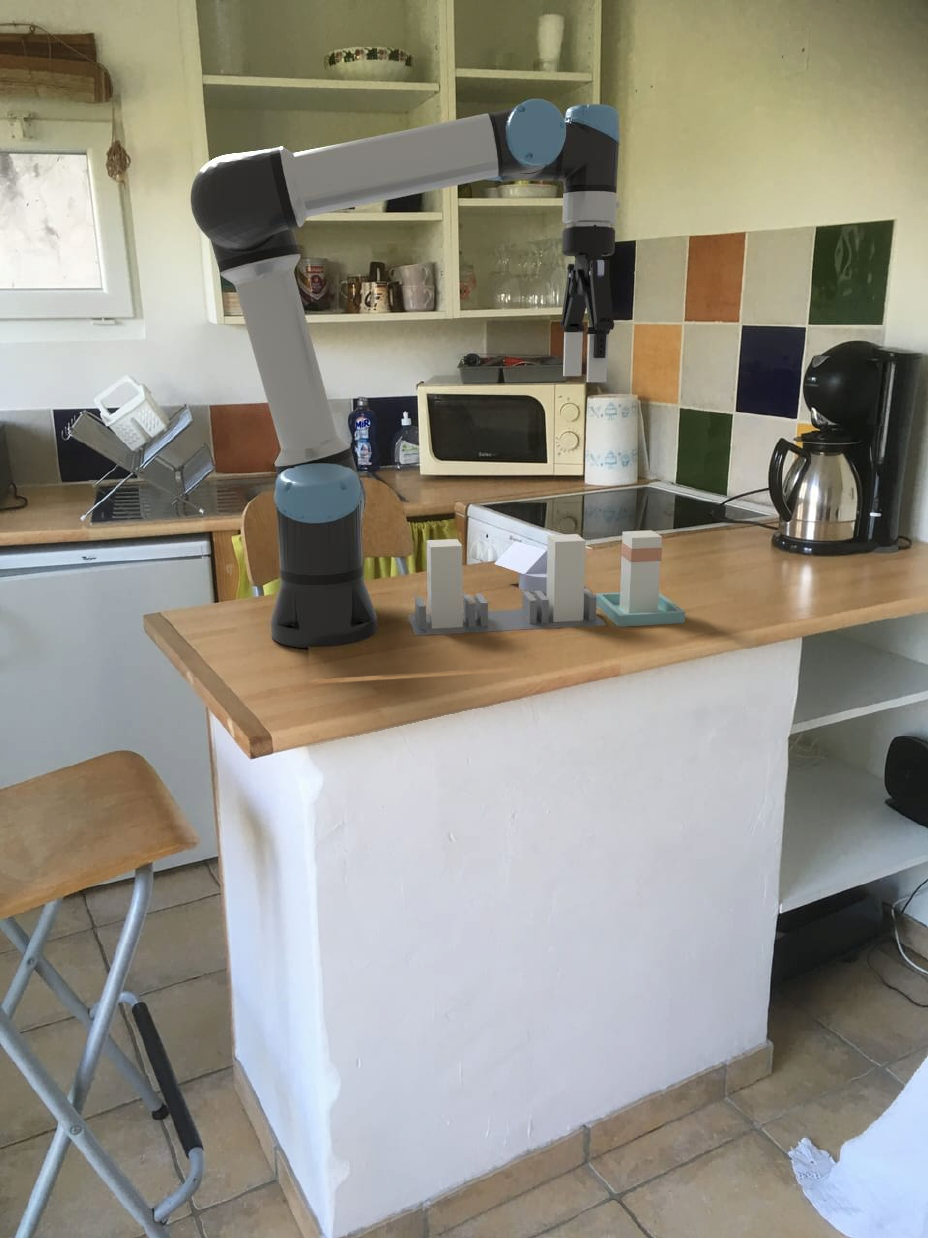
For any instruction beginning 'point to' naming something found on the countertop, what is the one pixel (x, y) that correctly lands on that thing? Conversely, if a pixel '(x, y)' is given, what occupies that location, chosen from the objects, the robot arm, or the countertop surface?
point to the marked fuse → (640, 571)
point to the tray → (665, 614)
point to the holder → (504, 616)
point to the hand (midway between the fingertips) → (583, 379)
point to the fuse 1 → (444, 583)
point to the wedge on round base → (527, 566)
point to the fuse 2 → (565, 577)
